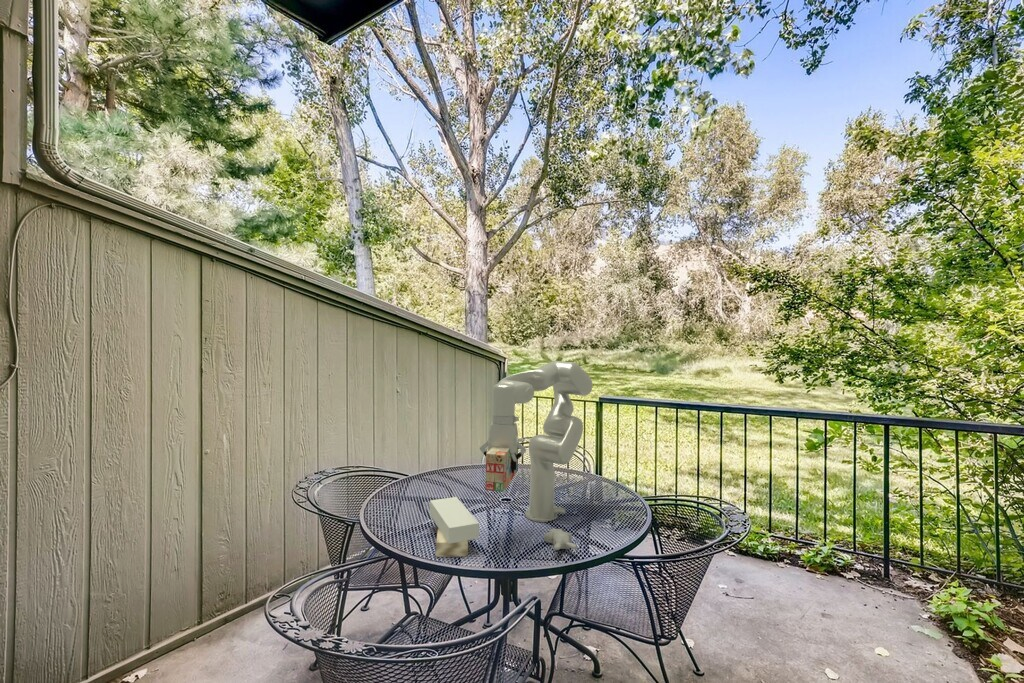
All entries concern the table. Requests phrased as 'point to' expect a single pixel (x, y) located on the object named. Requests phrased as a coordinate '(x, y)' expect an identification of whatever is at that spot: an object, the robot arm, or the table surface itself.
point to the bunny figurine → (559, 539)
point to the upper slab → (454, 520)
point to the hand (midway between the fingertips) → (502, 470)
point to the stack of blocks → (499, 469)
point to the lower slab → (450, 547)
